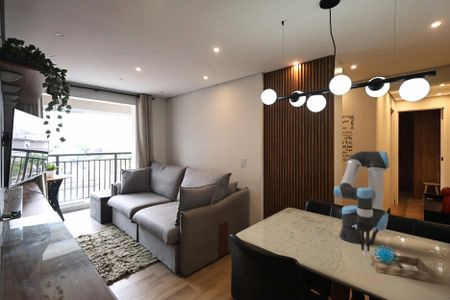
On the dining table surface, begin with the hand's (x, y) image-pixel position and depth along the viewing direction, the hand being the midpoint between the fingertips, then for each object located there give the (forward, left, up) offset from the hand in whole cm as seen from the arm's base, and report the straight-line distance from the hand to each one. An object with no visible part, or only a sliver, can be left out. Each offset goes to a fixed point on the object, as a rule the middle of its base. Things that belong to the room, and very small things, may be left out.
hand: (365, 256), depth 122 cm
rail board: (+15, 0, -4) cm, 16 cm away
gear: (+10, +1, -2) cm, 10 cm away
